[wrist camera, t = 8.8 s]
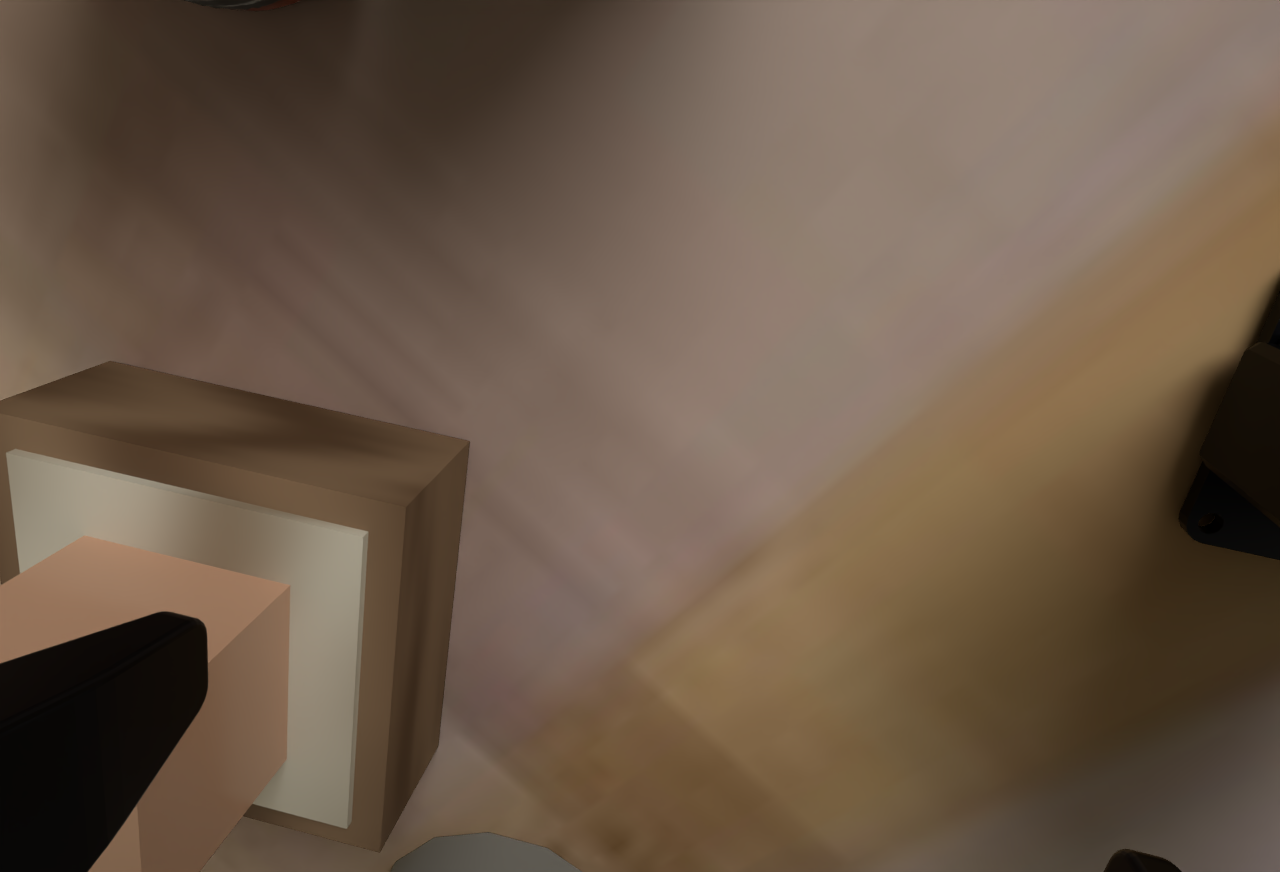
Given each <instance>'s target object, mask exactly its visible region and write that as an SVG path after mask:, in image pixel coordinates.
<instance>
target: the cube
mask: <svg viewBox="0 0 1280 872" xmlns="http://www.w3.org/2000/svg"><path fill="white" fill-rule="evenodd" d="M161 611H169V612H174V613H178V614H182V615H186V616H190V617H194V618H198V619H199V620H201V621H202V622H203V623H204V624H205V626H206V629H207V639H208V691H207V695H206V698H205V701H204V703H203V705H202V707H201V709H200V711H199V713H198V714H197V716H196V717H195V719H194V720H193V722H192V723H191V725H190V726H189V728H188V729H187V730H186V732H185V733H184V735H183V736H182V738H181V739H180V741H179V742H178V744H177V745H176V747H175V748H174V750H173V751H172V753H171V754H170V756H169V757H168V759H167V760H166V762H165V763H164V765H163V766H162V768H161V769H160V771H159V772H158V774H157V775H156V777H155V778H154V780H153V781H152V783H151V784H150V786H149V787H148V789H147V790H146V792H145V793H144V795H143V796H142V798H141V799H140V801H139V802H138V804H137V805H136V807H135V808H134V810H133V811H132V813H131V814H130V816H129V817H128V819H127V820H126V822H125V823H124V824H123V826H122V827H121V829H120V830H119V831H118V833H117V834H116V836H115V837H114V838H113V840H112V841H111V843H110V844H109V845H108V847H107V848H106V849H105V850H104V852H103V853H102V854H101V856H100V857H99V858H98V859H97V861H96V862H95V863H94V865H93V866H92V867H91V868H90V870H89V871H88V872H200V870H201V869H202V868H203V867H204V865H205V864H206V863H207V861H208V860H209V859H210V858H211V856H212V855H213V854H214V852H215V851H216V850H217V849H218V847H219V846H220V845H221V843H222V842H223V841H224V839H225V838H226V837H227V836H228V834H229V833H230V832H231V830H232V829H233V828H234V827H235V825H236V824H237V823H238V821H239V820H240V819H241V818H242V816H243V815H244V814H245V812H246V811H247V810H248V808H249V807H250V806H251V805H252V803H253V802H254V801H255V799H256V798H257V797H258V796H259V794H260V793H261V792H262V790H263V789H264V788H265V787H266V785H267V784H268V783H269V781H270V780H271V779H272V777H273V776H274V775H275V774H276V772H277V771H278V770H279V768H280V767H281V766H282V765H283V763H284V762H285V761H286V759H287V724H288V675H289V626H290V585H288V584H283V583H279V582H275V581H271V580H267V579H263V578H259V577H255V576H250V575H246V574H242V573H238V572H234V571H230V570H226V569H221V568H217V567H213V566H209V565H205V564H201V563H197V562H193V561H188V560H184V559H180V558H176V557H172V556H168V555H164V554H159V553H155V552H151V551H147V550H143V549H139V548H135V547H131V546H126V545H122V544H118V543H114V542H110V541H106V540H102V539H98V538H93V537H89V536H85V535H84V536H82V537H81V538H79V539H77V540H76V541H74V542H72V543H71V544H69V545H67V546H66V547H64V548H62V549H61V550H59V551H57V552H56V553H54V554H52V555H51V556H49V557H47V558H46V559H44V560H42V561H41V562H39V563H37V564H36V565H34V566H32V567H30V568H29V569H27V570H25V571H24V572H22V573H20V574H19V575H17V576H15V577H14V578H12V579H10V580H9V581H7V582H5V583H4V584H2V585H0V663H3V662H6V661H9V660H12V659H15V658H18V657H21V656H24V655H27V654H30V653H33V652H37V651H40V650H43V649H46V648H49V647H52V646H55V645H58V644H61V643H64V642H67V641H70V640H74V639H77V638H80V637H83V636H86V635H89V634H92V633H95V632H98V631H101V630H104V629H107V628H111V627H114V626H117V625H120V624H123V623H126V622H129V621H132V620H135V619H138V618H141V617H144V616H147V615H151V614H154V613H157V612H161Z"/></svg>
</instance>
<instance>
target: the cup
mask: <svg viewBox="0 0 1280 872" xmlns="http://www.w3.org/2000/svg"><path fill="white" fill-rule="evenodd" d="M391 872H582V871H580V870H579V869H577V868H576V867H574V866H573V865H571V864H570V863H568V862H567V861H565V860H564V859H562V858H561V857H560V856H558V855H557V854H555V853H554V852H552V851H551V850H549V849H548V848H545V847H541V846H538V845H534V844H530V843H526V842H523V841H519V840H515V839H512V838H508V837H504V836H500V835H497V834H493V833H489V832H487V833H477V834H467V835H456V836H446V837H436V838H433V839H431V840H430V841H428V842H426V843H425V844H423V845H422V846H420V847H418V848H417V849H415V850H414V851H412V852H410V853H409V854H407V855H406V856H404V857H402V858H401V859H399V860H398V861H396V862H395V864H394V866H393V868H392V870H391Z"/></svg>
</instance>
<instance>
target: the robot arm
mask: <svg viewBox="0 0 1280 872" xmlns="http://www.w3.org/2000/svg"><path fill="white" fill-rule="evenodd" d="M1200 456H1201V458H1202V460H1203V462H1202V464H1201V466H1200V468H1199V471H1198V473H1197V475H1196V477H1195V479H1194V482H1193V484H1192V486H1191V488H1190V490H1189V493H1188V495H1187V497H1186V499H1185V501H1184V504H1183V506H1182V508H1181V510H1180V514H1179V522H1180V526H1181V527H1182V528H1183V529H1184V530H1185V531H1186V532H1187V533H1188V534H1189V535H1190V536H1191V537H1192V538H1193V540H1196V541H1198V542H1200V543H1204V544H1208V545H1213V546H1218V547H1222V548H1227V549H1231V550H1236V551H1241V552H1245V553H1250V554H1254V555H1259V556H1264V557H1268V558H1273V559H1278V560H1280V292H1279V294H1278V297H1277V299H1276V301H1275V303H1274V305H1273V308H1272V310H1271V312H1270V314H1269V316H1268V319H1267V321H1266V323H1265V325H1264V327H1263V330H1262V332H1261V334H1260V336H1259V338H1258V341H1257V343H1256V344H1255V345H1253V346H1252V347H1250V348H1249V349H1247V350H1246V351H1245V352H1244V354H1243V357H1242V359H1241V361H1240V363H1239V366H1238V368H1237V370H1236V372H1235V374H1234V377H1233V379H1232V381H1231V383H1230V385H1229V388H1228V390H1227V392H1226V394H1225V397H1224V399H1223V401H1222V403H1221V405H1220V408H1219V410H1218V412H1217V414H1216V417H1215V419H1214V421H1213V423H1212V425H1211V428H1210V430H1209V432H1208V434H1207V437H1206V439H1205V441H1204V443H1203V445H1202V448H1201V450H1200ZM1209 513H1215V518H1214V520H1213V521H1212V522H1211V523H1210V524H1207V525H1205V526H1198V524H1199V520H1200V519H1201V518H1202V517H1203V516H1204V515H1207V514H1209ZM207 691H208V639H207V629H206V626H205V624H204V623H203V622H202V621H201V620H199V619H198V618H194V617H190V616H186V615H182V614H178V613H174V612H169V611H161V612H157V613H154V614H151V615H147V616H144V617H141V618H138V619H135V620H132V621H129V622H126V623H123V624H120V625H117V626H114V627H111V628H107V629H104V630H101V631H98V632H95V633H92V634H89V635H86V636H83V637H80V638H77V639H74V640H70V641H67V642H64V643H61V644H58V645H55V646H52V647H49V648H46V649H43V650H40V651H37V652H33V653H30V654H27V655H24V656H21V657H18V658H15V659H12V660H9V661H6V662H3V663H0V872H88V871H89V870H90V868H91V867H92V866H93V865H94V863H95V862H96V861H97V859H98V858H99V857H100V856H101V854H102V853H103V852H104V850H105V849H106V848H107V847H108V845H109V844H110V843H111V841H112V840H113V838H114V837H115V836H116V834H117V833H118V831H119V830H120V829H121V827H122V826H123V824H124V823H125V822H126V820H127V819H128V817H129V816H130V814H131V813H132V811H133V810H134V808H135V807H136V805H137V804H138V802H139V801H140V799H141V798H142V796H143V795H144V793H145V792H146V790H147V789H148V787H149V786H150V784H151V783H152V781H153V780H154V778H155V777H156V775H157V774H158V772H159V771H160V769H161V768H162V766H163V765H164V763H165V762H166V760H167V759H168V757H169V756H170V754H171V753H172V751H173V750H174V748H175V747H176V745H177V744H178V742H179V741H180V739H181V738H182V736H183V735H184V733H185V732H186V730H187V729H188V728H189V726H190V725H191V723H192V722H193V720H194V719H195V717H196V716H197V714H198V713H199V711H200V709H201V707H202V705H203V703H204V701H205V698H206V695H207ZM1104 872H1182V871H1180V870H1179V869H1178V868H1177V867H1176V866H1175V865H1174V864H1173V863H1171V862H1170V861H1168V860H1166V859H1164V858H1161V857H1158V856H1154V855H1150V854H1146V853H1142V852H1138V851H1134V850H1130V849H1122V850H1119V851H1117V852H1116V853H1114V854H1113V856H1112V857H1111V859H1110V860H1109V862H1108V864H1107V866H1106V868H1105V870H1104Z"/></svg>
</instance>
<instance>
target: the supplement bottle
mask: <svg viewBox="0 0 1280 872" xmlns="http://www.w3.org/2000/svg"><path fill="white" fill-rule="evenodd" d="M184 1H188V2H192V3H196V4H199V5H202V6H210V7H214V8H228V9H236V10H247V11H261V10H271V9H275V8H280V7H283V6H287V5H290V4H294V3H296V2H298V1H301V0H184Z"/></svg>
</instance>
